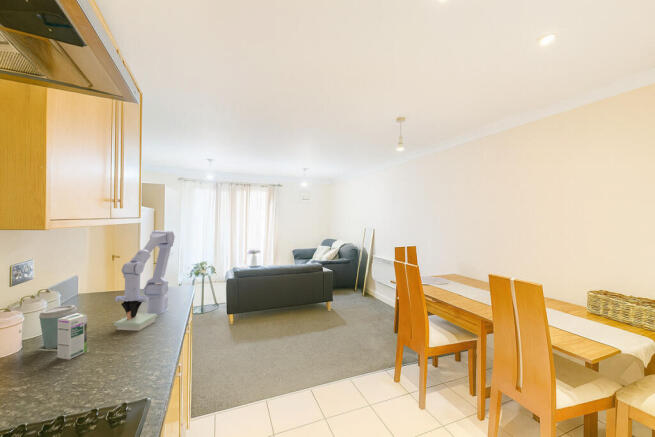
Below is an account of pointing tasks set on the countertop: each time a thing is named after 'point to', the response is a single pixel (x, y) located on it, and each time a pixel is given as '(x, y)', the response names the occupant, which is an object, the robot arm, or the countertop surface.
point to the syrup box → (72, 336)
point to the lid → (135, 320)
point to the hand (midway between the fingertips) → (131, 316)
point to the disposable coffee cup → (53, 323)
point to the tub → (135, 327)
